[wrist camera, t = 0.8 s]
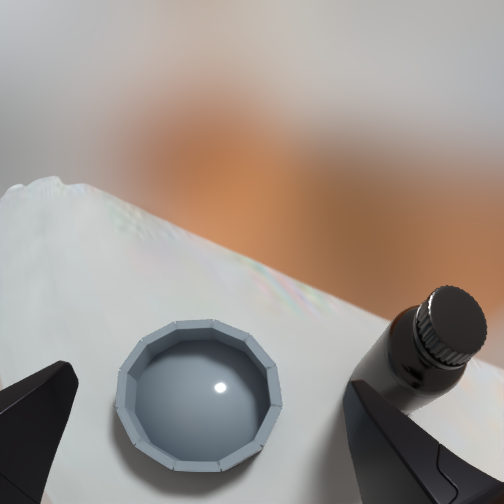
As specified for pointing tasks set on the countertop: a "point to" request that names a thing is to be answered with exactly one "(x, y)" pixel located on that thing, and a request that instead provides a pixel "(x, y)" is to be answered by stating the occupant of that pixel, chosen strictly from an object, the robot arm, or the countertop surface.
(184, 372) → the bowl
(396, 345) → the supplement bottle
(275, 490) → the countertop surface
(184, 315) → the countertop surface
